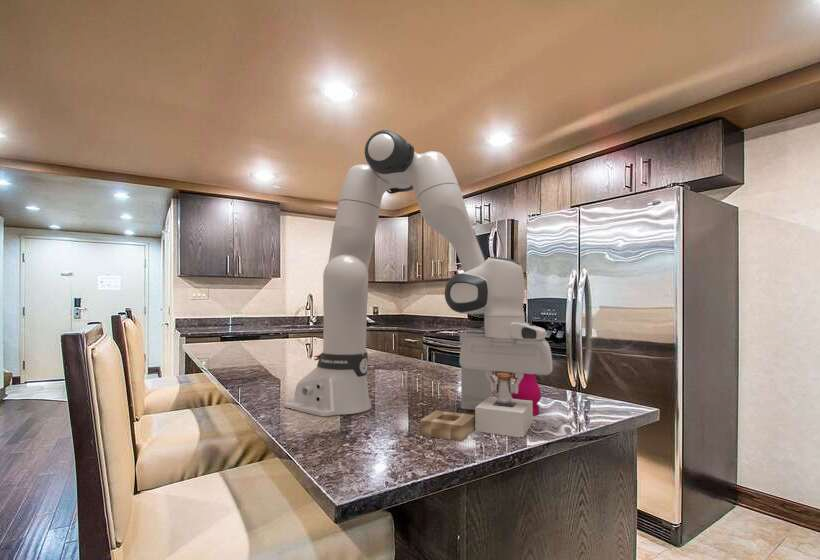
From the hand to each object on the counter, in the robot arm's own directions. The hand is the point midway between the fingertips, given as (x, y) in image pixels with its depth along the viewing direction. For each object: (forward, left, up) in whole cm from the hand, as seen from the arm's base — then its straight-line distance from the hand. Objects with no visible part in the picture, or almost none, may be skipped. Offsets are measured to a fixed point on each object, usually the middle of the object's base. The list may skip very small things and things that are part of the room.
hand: (504, 392), depth 94 cm
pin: (0, 0, -6) cm, 6 cm away
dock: (0, 0, -8) cm, 8 cm away
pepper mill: (+2, +15, -8) cm, 17 cm away
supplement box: (-11, +15, -8) cm, 20 cm away
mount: (-10, -9, -8) cm, 15 cm away
